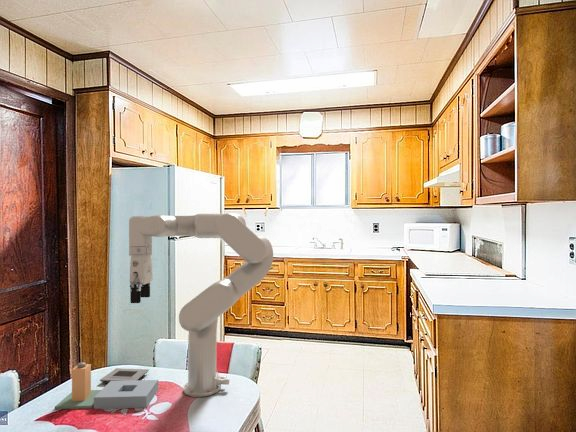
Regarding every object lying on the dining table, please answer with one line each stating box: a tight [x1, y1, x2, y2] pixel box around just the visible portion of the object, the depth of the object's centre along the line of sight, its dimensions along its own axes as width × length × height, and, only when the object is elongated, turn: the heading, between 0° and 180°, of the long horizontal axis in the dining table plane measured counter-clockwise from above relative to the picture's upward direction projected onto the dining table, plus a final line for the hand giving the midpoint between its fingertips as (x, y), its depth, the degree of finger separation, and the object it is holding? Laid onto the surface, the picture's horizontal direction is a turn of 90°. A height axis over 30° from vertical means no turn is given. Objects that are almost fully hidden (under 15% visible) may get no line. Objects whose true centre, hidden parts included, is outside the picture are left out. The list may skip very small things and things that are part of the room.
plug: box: [71, 361, 92, 401], centre depth 120 cm, size 4×4×11 cm
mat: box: [54, 389, 102, 410], centre depth 120 cm, size 11×11×1 cm
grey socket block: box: [93, 379, 159, 410], centre depth 121 cm, size 16×12×4 cm
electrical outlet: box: [99, 367, 150, 383], centre depth 137 cm, size 13×10×2 cm
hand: (140, 299), depth 130 cm, fingers open, 9 cm apart
